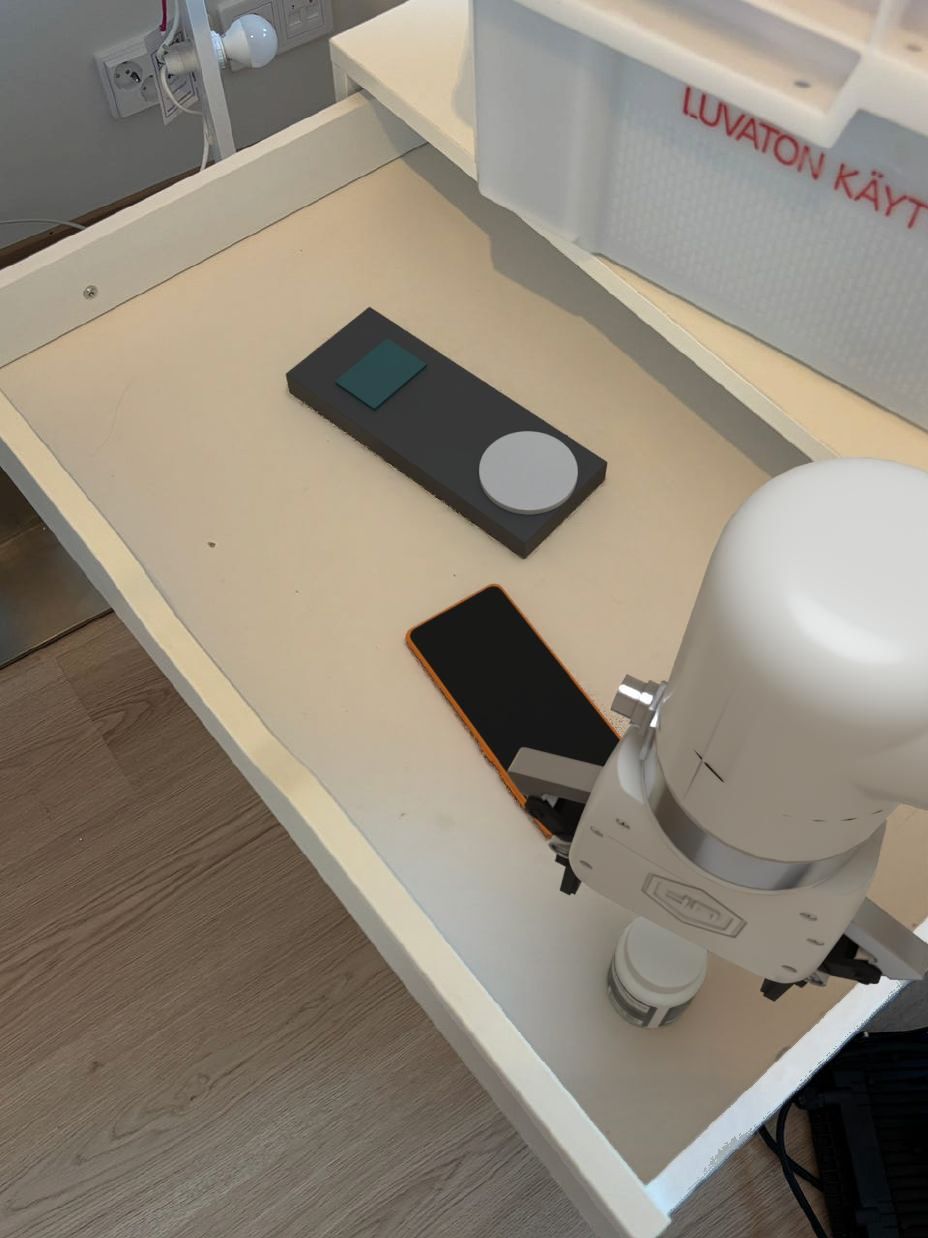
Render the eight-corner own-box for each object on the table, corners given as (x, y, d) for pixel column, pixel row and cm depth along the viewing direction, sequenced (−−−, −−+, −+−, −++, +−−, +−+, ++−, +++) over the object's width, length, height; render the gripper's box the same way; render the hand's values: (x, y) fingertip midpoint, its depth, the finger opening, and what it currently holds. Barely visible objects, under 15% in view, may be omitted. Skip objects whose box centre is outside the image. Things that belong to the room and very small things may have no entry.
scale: (605, 479, 81) (608, 456, 79) (524, 559, 78) (525, 538, 76) (371, 324, 89) (368, 299, 87) (288, 391, 86) (283, 367, 83)
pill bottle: (690, 947, 65) (716, 904, 57) (690, 1034, 62) (717, 1001, 55) (606, 938, 65) (622, 894, 58) (602, 1025, 62) (618, 991, 55)
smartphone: (496, 584, 77) (497, 577, 76) (648, 778, 70) (650, 773, 69) (400, 638, 75) (399, 632, 74) (547, 844, 68) (547, 839, 67)
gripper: (471, 744, 37) (468, 897, 52) (999, 1007, 33) (833, 1091, 48) (571, 572, 40) (542, 762, 55) (1063, 791, 36) (888, 933, 51)
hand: (677, 915), depth 51 cm, fingers open, 9 cm apart
